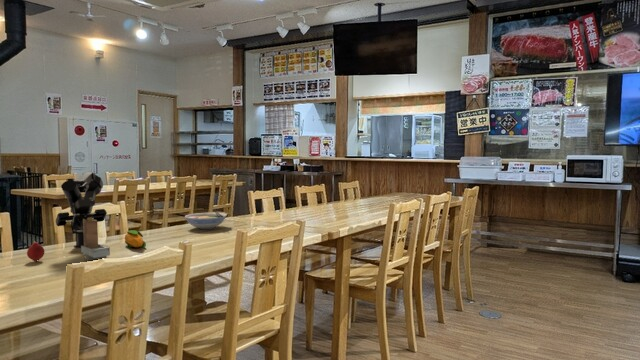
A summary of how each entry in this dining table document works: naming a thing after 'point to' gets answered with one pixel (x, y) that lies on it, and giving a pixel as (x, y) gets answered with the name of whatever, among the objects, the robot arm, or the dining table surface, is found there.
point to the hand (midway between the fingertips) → (87, 232)
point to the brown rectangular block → (90, 233)
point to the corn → (134, 239)
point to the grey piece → (95, 252)
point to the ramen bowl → (205, 220)
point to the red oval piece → (35, 251)
